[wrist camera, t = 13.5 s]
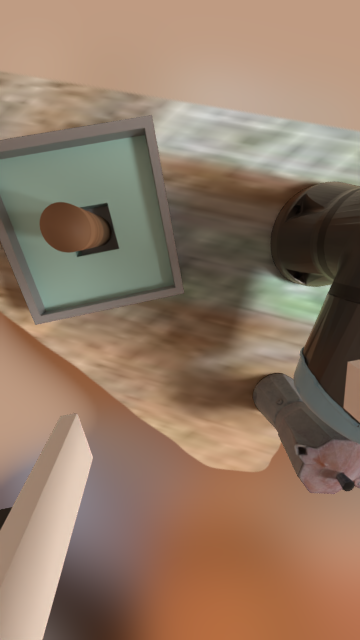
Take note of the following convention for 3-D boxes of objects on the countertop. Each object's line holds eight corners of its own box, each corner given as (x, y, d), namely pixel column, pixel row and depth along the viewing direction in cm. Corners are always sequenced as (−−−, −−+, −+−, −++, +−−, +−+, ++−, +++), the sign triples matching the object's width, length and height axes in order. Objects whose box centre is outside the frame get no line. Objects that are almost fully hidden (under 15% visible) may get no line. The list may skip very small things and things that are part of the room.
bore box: (150, 136, 32) (151, 115, 26) (178, 285, 39) (184, 293, 33) (-5, 163, 31) (-40, 146, 25) (52, 311, 37) (35, 324, 32)
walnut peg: (107, 212, 33) (80, 197, 20) (115, 243, 34) (95, 247, 21) (77, 218, 33) (31, 207, 20) (87, 248, 34) (49, 256, 21)
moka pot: (258, 357, 45) (338, 444, 26) (318, 386, 49) (424, 479, 30) (231, 397, 47) (287, 504, 28) (290, 422, 51) (374, 529, 32)
